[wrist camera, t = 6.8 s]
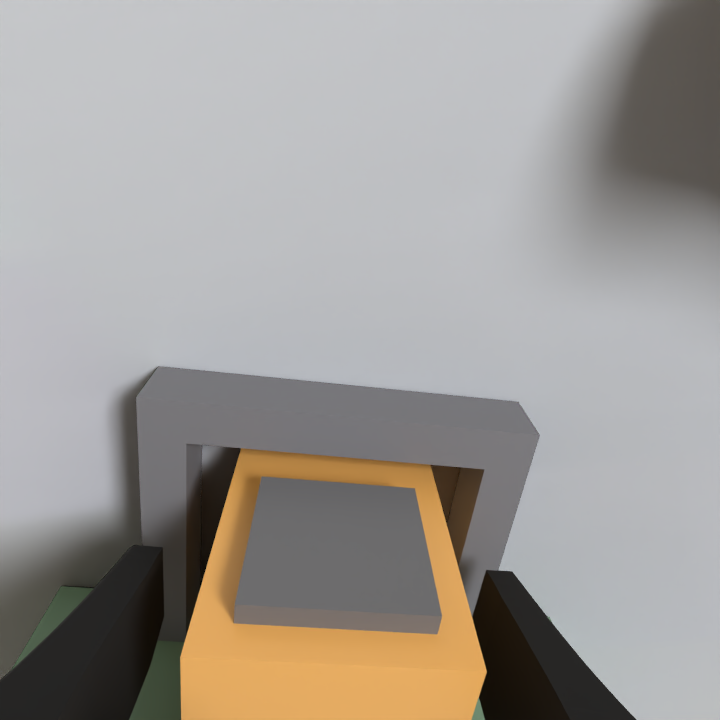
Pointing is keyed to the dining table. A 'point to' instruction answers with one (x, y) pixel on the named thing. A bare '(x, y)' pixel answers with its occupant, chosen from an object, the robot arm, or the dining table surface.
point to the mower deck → (307, 436)
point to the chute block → (331, 598)
